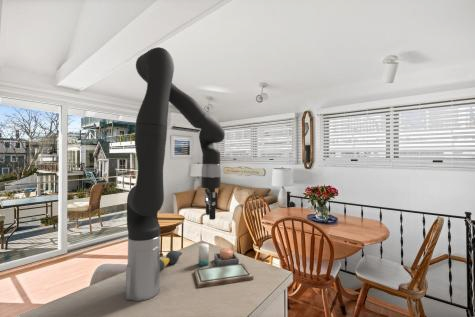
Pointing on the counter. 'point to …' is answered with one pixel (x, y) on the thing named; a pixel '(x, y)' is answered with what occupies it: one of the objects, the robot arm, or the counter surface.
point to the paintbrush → (170, 259)
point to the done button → (226, 254)
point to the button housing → (225, 262)
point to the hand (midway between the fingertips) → (210, 216)
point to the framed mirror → (222, 275)
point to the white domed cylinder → (203, 255)
